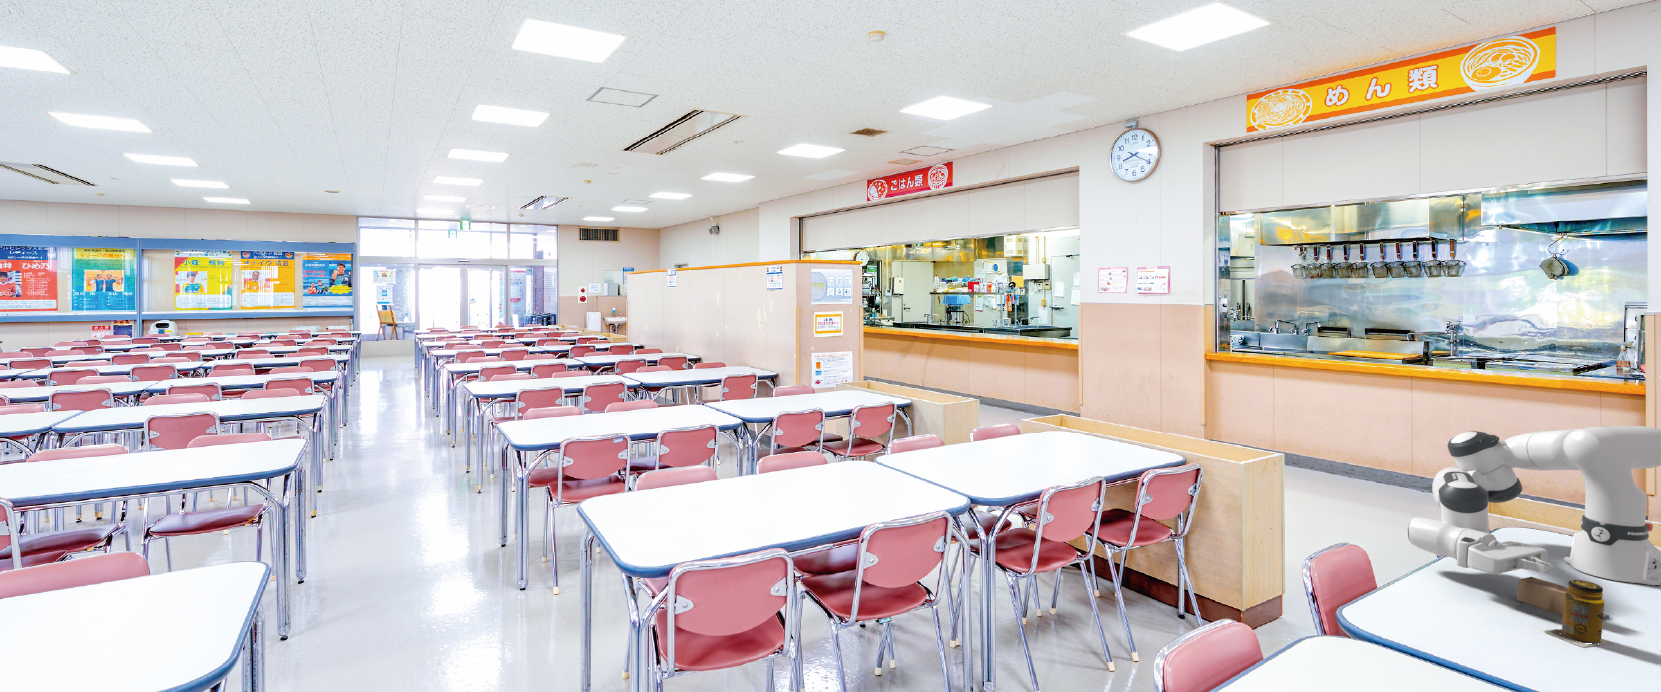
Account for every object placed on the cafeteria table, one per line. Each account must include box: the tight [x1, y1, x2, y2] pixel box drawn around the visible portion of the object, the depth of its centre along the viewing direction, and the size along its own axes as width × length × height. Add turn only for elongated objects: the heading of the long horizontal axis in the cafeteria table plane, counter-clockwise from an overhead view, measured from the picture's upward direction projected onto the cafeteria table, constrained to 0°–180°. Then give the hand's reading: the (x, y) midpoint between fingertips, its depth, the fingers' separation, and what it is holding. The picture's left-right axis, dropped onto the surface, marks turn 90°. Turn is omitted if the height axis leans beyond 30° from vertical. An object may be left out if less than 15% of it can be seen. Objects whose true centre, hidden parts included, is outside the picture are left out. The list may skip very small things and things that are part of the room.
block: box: [1516, 576, 1568, 615], centre depth 175 cm, size 5×5×13 cm
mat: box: [1513, 602, 1610, 625], centre depth 174 cm, size 14×11×1 cm
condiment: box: [1543, 579, 1613, 648], centre depth 162 cm, size 7×8×12 cm
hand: (1548, 568), depth 176 cm, fingers closed
